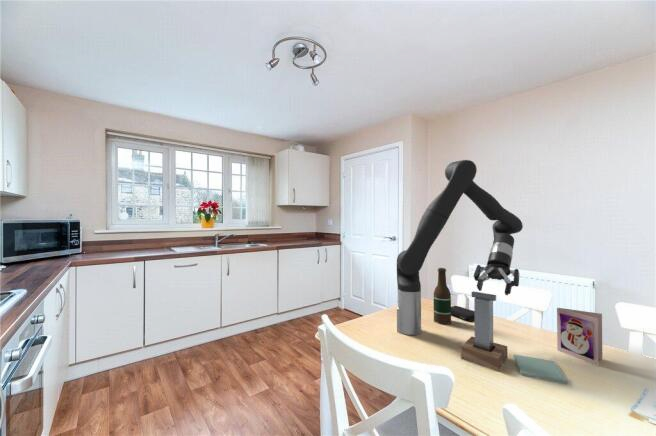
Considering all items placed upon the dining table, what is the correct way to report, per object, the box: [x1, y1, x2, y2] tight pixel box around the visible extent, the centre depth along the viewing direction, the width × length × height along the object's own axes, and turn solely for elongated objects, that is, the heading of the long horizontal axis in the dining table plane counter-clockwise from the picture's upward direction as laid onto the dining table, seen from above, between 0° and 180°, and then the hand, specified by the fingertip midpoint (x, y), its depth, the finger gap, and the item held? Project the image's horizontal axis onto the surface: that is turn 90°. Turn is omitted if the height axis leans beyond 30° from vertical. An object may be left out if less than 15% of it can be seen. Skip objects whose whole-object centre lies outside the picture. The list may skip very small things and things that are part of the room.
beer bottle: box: [433, 267, 452, 325], centre depth 124 cm, size 8×8×24 cm
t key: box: [471, 290, 497, 352], centre depth 91 cm, size 4×7×22 cm, turn 45°
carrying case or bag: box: [451, 305, 475, 322], centre depth 131 cm, size 11×3×15 cm
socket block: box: [460, 336, 509, 372], centre depth 91 cm, size 11×11×4 cm
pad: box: [512, 353, 569, 385], centre depth 85 cm, size 11×12×1 cm
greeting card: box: [556, 307, 603, 367], centre depth 92 cm, size 11×7×15 cm, turn 20°
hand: (492, 291), depth 99 cm, fingers open, 8 cm apart
